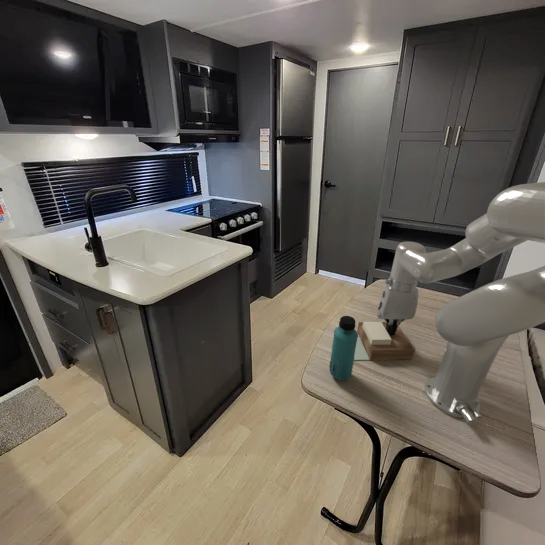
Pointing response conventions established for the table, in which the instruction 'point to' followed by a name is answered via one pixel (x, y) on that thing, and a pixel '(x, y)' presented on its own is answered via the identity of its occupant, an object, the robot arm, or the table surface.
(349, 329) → the beverage bottle
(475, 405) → the robot arm
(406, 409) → the table surface
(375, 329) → the cream rectangular block
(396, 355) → the flat brown wooden block
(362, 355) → the mat
